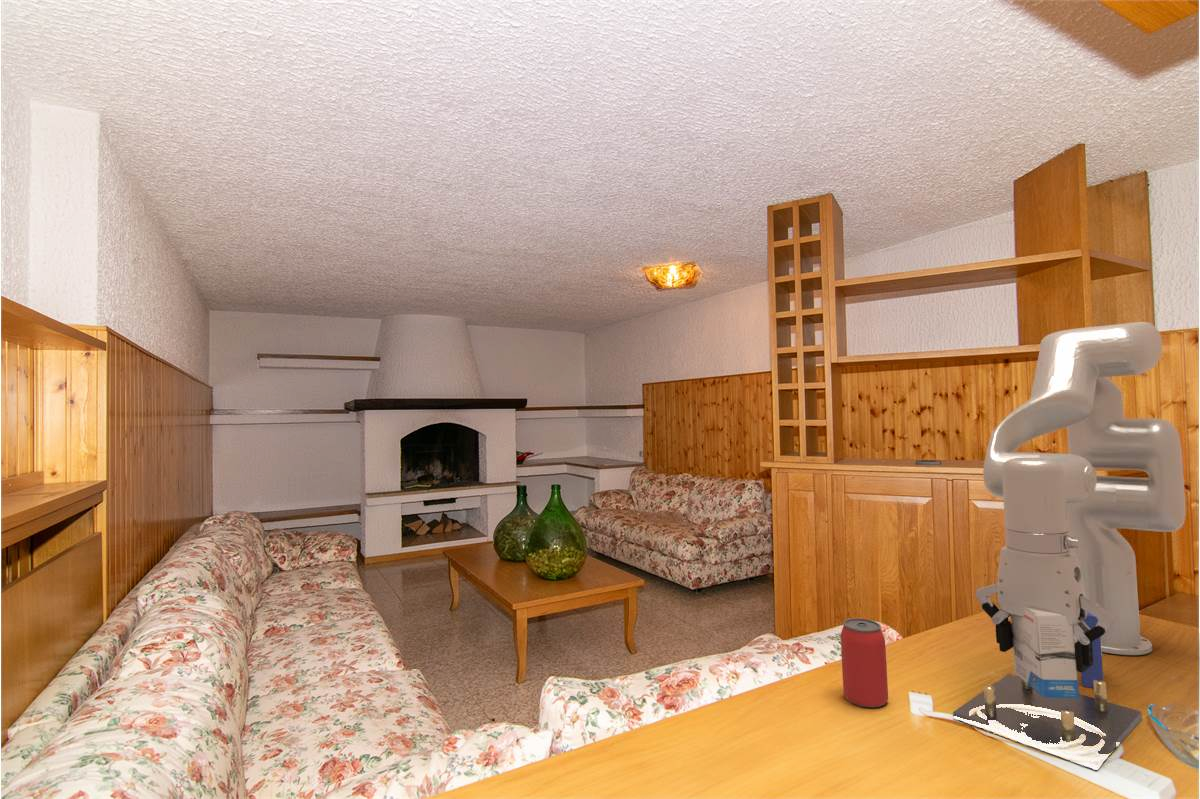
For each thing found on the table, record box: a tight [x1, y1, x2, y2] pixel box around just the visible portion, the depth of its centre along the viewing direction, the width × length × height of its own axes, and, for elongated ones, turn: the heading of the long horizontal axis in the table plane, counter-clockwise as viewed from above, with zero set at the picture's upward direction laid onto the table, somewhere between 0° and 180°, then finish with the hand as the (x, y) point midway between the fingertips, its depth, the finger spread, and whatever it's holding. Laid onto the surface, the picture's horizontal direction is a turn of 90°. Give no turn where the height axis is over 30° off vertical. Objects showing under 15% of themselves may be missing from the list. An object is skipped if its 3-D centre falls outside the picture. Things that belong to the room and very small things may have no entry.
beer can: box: [840, 617, 889, 708], centre depth 96 cm, size 7×7×12 cm
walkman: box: [1080, 604, 1104, 689], centre depth 100 cm, size 8×3×12 cm, turn 141°
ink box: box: [1010, 607, 1080, 699], centre depth 88 cm, size 9×5×12 cm, turn 168°
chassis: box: [952, 673, 1143, 754], centre depth 88 cm, size 20×17×5 cm
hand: (1043, 658), depth 88 cm, fingers closed on ink box, 9 cm apart
